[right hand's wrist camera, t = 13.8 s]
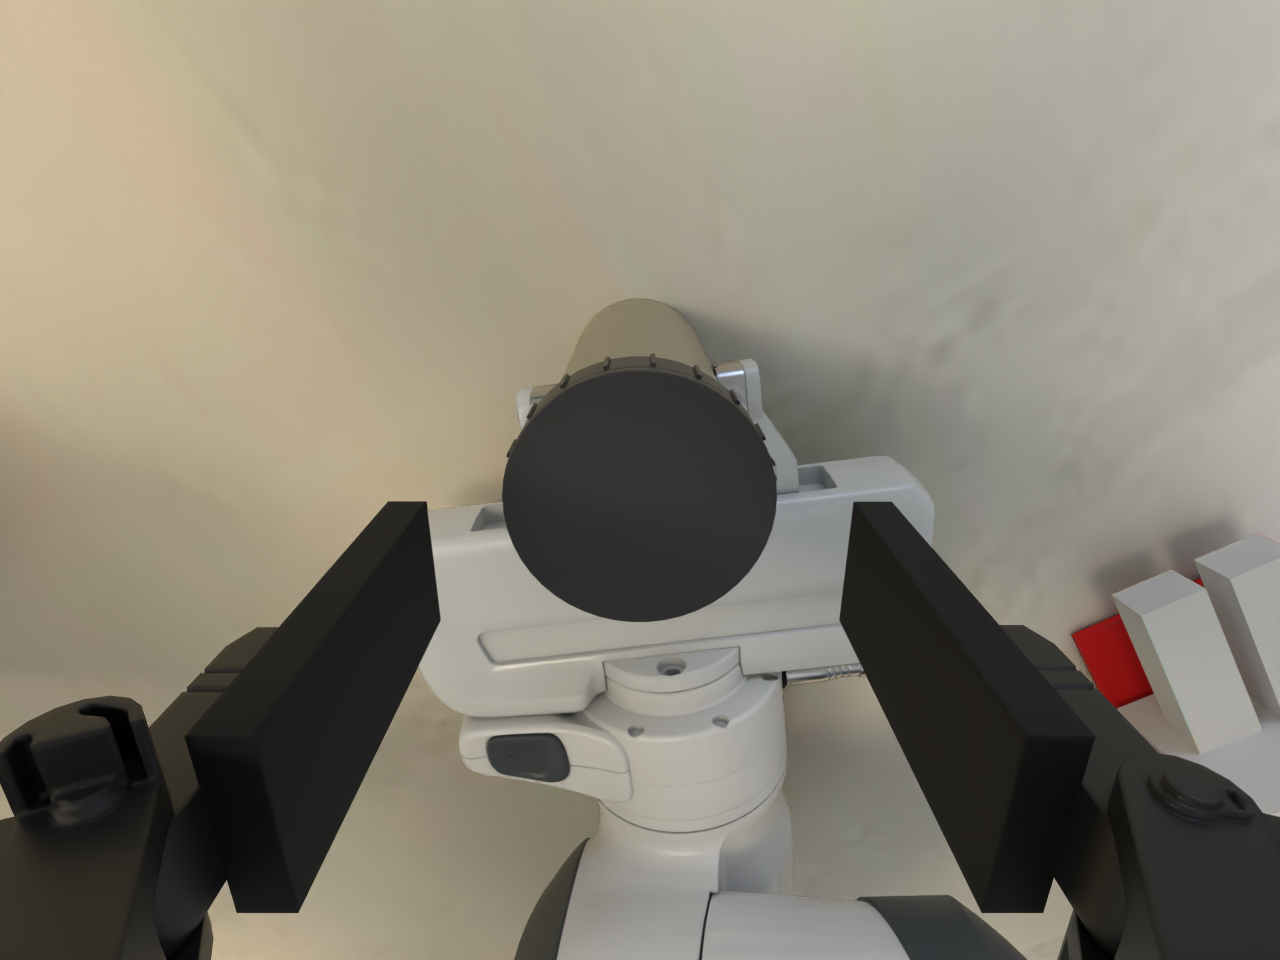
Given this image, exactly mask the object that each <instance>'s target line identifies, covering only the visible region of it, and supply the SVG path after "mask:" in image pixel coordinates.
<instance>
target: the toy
mask: <svg viewBox="0 0 1280 960" xmlns="http://www.w3.org/2000/svg"><path fill="white" fill-rule="evenodd" d="M1194 562H1195V565H1196V567H1197V570H1198V572H1199V575H1200V577H1201V578H1198V579H1196V580H1194V581H1191V580H1190V579H1188V578H1186V577H1184V576H1183V575H1181V574H1179V573H1177V572H1176V571H1174V570H1172V569H1170V570H1168V571H1166V572H1163V573H1161V574H1159V575H1156V576H1154V577H1152V578H1149V579H1147V580H1145V581H1142V582H1140V583H1138V584H1135V585H1133V586H1130V587H1128V588H1126V589H1123V590H1121V591H1119V592H1116V593H1114V594H1112V598H1113V600H1114V602H1115V604H1116V607H1117V609H1118V611H1119V614H1117V615H1115V616H1113V617H1110V618H1108V619H1106V620H1104V621H1101V622H1099V623H1097V624H1095V625H1092V626H1090V627H1088V628H1086V629H1083V630H1081V631H1079V632H1077V633H1074V634H1072V637H1073V639H1074V641H1075V643H1076V645H1077V647H1078V649H1079V651H1080V653H1081V655H1082V657H1083V659H1084V661H1085V663H1086V665H1087V667H1088V669H1089V671H1090V674H1091V676H1092V678H1093V680H1094V682H1095V684H1096V686H1097V688H1098V690H1099V691H1100V692H1101V693H1102V694H1103V695H1104V696H1105V697H1106V698H1107V699H1108V701H1109V702H1110V703H1111V704H1112V705H1113V706H1114V707H1115V708H1116V709H1117V710H1118V711H1119V712H1120V713H1121V714H1122V715H1123V716H1124V717H1125V718H1126V719H1127V720H1128V721H1129V722H1130V723H1131V725H1132V726H1133V727H1134V728H1135V729H1136V730H1137V731H1138V732H1139V733H1140V734H1141V735H1142V736H1143V737H1144V738H1145V739H1146V740H1147V741H1148V742H1149V743H1150V744H1151V745H1152V746H1153V747H1154V749H1155V750H1156V751H1157V752H1158V753H1160V754H1167V755H1174V756H1178V757H1180V758H1183V759H1186V760H1189V761H1192V762H1195V763H1198V764H1200V765H1203V766H1205V767H1207V768H1209V769H1210V770H1212V771H1214V772H1216V773H1218V774H1220V775H1221V776H1223V777H1225V778H1227V779H1229V780H1230V781H1232V782H1233V783H1234V784H1235V785H1237V786H1238V787H1239V788H1240V789H1241V790H1243V791H1244V792H1245V793H1246V794H1248V795H1249V796H1250V797H1251V798H1252V799H1253V800H1254V802H1255V803H1256V804H1257V806H1258V807H1259V808H1260V810H1261V811H1262V812H1263V813H1265V814H1269V815H1274V816H1278V817H1280V543H1279V542H1276V541H1274V540H1272V539H1269V538H1267V537H1265V536H1262V535H1260V534H1257V533H1255V534H1253V535H1251V536H1248V537H1246V538H1243V539H1241V540H1239V541H1236V542H1234V543H1232V544H1229V545H1227V546H1225V547H1222V548H1220V549H1218V550H1215V551H1213V552H1211V553H1208V554H1206V555H1203V556H1201V557H1199V558H1196V559H1194Z"/></svg>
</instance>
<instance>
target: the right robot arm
mask: <svg viewBox="0 0 1280 960" xmlns="http://www.w3.org/2000/svg"><path fill="white" fill-rule="evenodd" d="M440 621H441V617H440V609H439V601H438V592H437V584H436V576H435V567H434V559H433V551H432V543H431V534H430V526H429V518H428V510H427V502H387V503H386V505H385V506H384V507H383V508H382V509H381V510H380V512H379V513H378V514H377V515H376V516H375V517H374V518H373V520H372V521H371V522H370V523H369V524H368V525H367V526H366V528H365V529H364V530H363V531H362V532H361V533H360V535H359V536H358V537H357V538H356V539H355V540H354V541H353V543H352V544H351V545H350V546H349V547H348V548H347V550H346V551H345V552H344V553H343V554H342V555H341V556H340V558H339V559H338V560H337V561H336V562H335V563H334V564H333V566H332V567H331V568H330V569H329V570H328V571H327V573H326V574H325V575H324V576H323V577H322V578H321V579H320V581H319V582H318V583H317V584H316V585H315V586H314V588H313V589H312V590H311V591H310V592H309V593H308V594H307V596H306V597H305V598H304V599H303V600H302V601H301V603H300V604H299V605H298V606H297V607H296V608H295V609H294V611H293V612H292V613H291V614H290V615H289V616H288V617H287V619H286V620H285V621H284V622H283V623H282V624H281V626H280V627H257V628H255V629H254V630H252V631H251V632H249V633H247V634H246V635H244V636H242V637H241V638H239V639H237V640H236V641H234V642H233V643H231V644H229V645H228V646H226V647H225V648H224V649H223V650H222V651H221V652H220V653H219V654H218V655H217V657H216V658H215V659H214V660H213V661H212V662H211V663H210V664H209V665H208V666H207V667H206V668H205V672H204V673H200V674H199V675H198V676H197V678H196V679H195V680H194V681H193V682H192V683H191V684H190V685H189V686H188V687H187V692H182V693H181V694H180V695H179V696H178V698H177V699H176V700H175V701H174V702H173V703H172V704H171V705H170V706H169V707H168V708H167V709H166V710H165V711H164V712H163V713H162V714H161V715H160V716H159V717H158V719H157V720H156V721H155V722H154V723H153V724H152V725H151V726H150V727H149V728H148V725H147V721H146V718H145V715H144V712H143V709H142V706H141V705H140V704H138V703H137V702H135V701H134V700H132V699H131V698H125V697H116V696H105V697H98V698H90V699H84V700H80V701H77V702H74V703H71V704H68V705H64V706H61V707H58V708H55V709H53V710H51V711H49V712H47V713H45V714H42V715H40V716H38V717H36V718H34V719H32V720H30V721H28V722H26V723H25V724H23V725H22V726H21V727H19V728H18V729H16V730H15V731H13V732H12V733H11V734H9V735H8V736H6V737H5V738H3V740H2V741H1V742H0V784H1V786H2V789H3V791H4V793H5V795H6V798H7V800H8V802H9V805H10V807H11V809H12V812H13V814H14V816H15V817H11V818H7V819H3V820H0V960H211V955H212V946H213V933H212V927H211V922H210V919H209V915H208V912H207V911H208V909H209V907H210V906H211V904H212V903H213V901H214V899H215V898H216V896H217V895H218V893H219V891H220V890H221V888H222V886H223V885H224V883H225V882H226V880H227V881H228V885H229V888H230V892H231V895H232V898H233V902H234V905H235V908H236V912H237V913H298V912H299V910H300V908H301V906H302V904H303V902H304V900H305V898H306V896H307V894H308V892H309V890H310V888H311V886H312V884H313V882H314V879H315V877H316V875H317V873H318V871H319V869H320V867H321V865H322V863H323V861H324V859H325V857H326V855H327V853H328V851H329V849H330V847H331V845H332V843H333V840H334V838H335V836H336V834H337V832H338V830H339V828H340V826H341V824H342V822H343V820H344V818H345V816H346V814H347V812H348V810H349V808H350V806H351V804H352V801H353V799H354V797H355V795H356V793H357V791H358V789H359V787H360V785H361V783H362V781H363V779H364V777H365V775H366V773H367V771H368V769H369V767H370V765H371V762H372V760H373V758H374V756H375V754H376V752H377V750H378V748H379V746H380V744H381V742H382V740H383V738H384V736H385V734H386V732H387V730H388V728H389V726H390V724H391V721H392V719H393V717H394V715H395V713H396V711H397V709H398V707H399V705H400V703H401V701H402V699H403V697H404V695H405V693H406V691H407V689H408V687H409V685H410V682H411V680H412V678H413V676H414V674H415V672H416V670H417V668H418V666H419V664H420V662H421V660H422V658H423V656H424V654H425V652H426V650H427V648H428V646H429V643H430V641H431V639H432V637H433V635H434V633H435V631H436V629H437V627H438V625H439V623H440ZM839 621H840V623H841V625H842V627H843V629H844V631H845V633H846V635H847V637H848V639H849V641H850V643H851V646H852V648H853V650H854V652H855V654H856V656H857V658H858V660H859V662H860V664H861V666H862V668H863V670H864V672H865V674H866V676H867V678H868V680H869V682H870V685H871V687H872V689H873V691H874V693H875V695H876V697H877V699H878V701H879V703H880V705H881V707H882V709H883V711H884V713H885V715H886V717H887V719H888V721H889V724H890V726H891V728H892V730H893V732H894V734H895V736H896V738H897V740H898V742H899V744H900V746H901V748H902V750H903V752H904V754H905V756H906V758H907V760H908V763H909V765H910V767H911V769H912V771H913V773H914V775H915V777H916V779H917V781H918V783H919V785H920V787H921V789H922V791H923V793H924V795H925V797H926V799H927V801H928V804H929V806H930V808H931V810H932V812H933V814H934V816H935V818H936V820H937V822H938V824H939V826H940V828H941V830H942V832H943V834H944V836H945V838H946V840H947V843H948V845H949V847H950V849H951V851H952V853H953V855H954V857H955V859H956V861H957V863H958V865H959V867H960V869H961V871H962V873H963V875H964V877H965V879H966V882H967V884H968V886H969V888H970V890H971V892H972V894H973V896H974V898H975V900H976V902H977V904H978V906H979V908H980V910H981V912H982V913H1043V912H1044V908H1045V905H1046V902H1047V898H1048V895H1049V892H1050V888H1051V885H1052V881H1053V878H1055V880H1056V881H1057V883H1058V884H1059V886H1060V888H1061V889H1062V891H1063V892H1064V894H1065V896H1066V897H1067V899H1068V900H1069V902H1070V904H1071V905H1072V907H1073V912H1072V915H1071V919H1070V922H1069V925H1068V928H1067V931H1066V934H1065V937H1064V940H1063V944H1062V947H1061V950H1060V953H1059V956H1058V959H1057V960H1280V817H1278V816H1274V815H1269V814H1265V813H1263V812H1262V811H1261V810H1260V808H1259V807H1258V806H1257V804H1256V803H1255V802H1254V800H1253V799H1252V798H1251V797H1250V796H1249V795H1248V794H1246V793H1245V792H1244V791H1243V790H1241V789H1240V788H1239V787H1238V786H1237V785H1235V784H1234V783H1233V782H1232V781H1230V780H1229V779H1227V778H1225V777H1223V776H1221V775H1220V774H1218V773H1216V772H1214V771H1212V770H1210V769H1209V768H1207V767H1205V766H1203V765H1200V764H1198V763H1195V762H1192V761H1189V760H1186V759H1183V758H1180V757H1178V756H1174V755H1167V754H1160V753H1158V752H1157V751H1156V750H1155V749H1154V747H1153V746H1152V745H1151V744H1150V743H1149V742H1148V741H1147V740H1146V739H1145V738H1144V737H1143V736H1142V735H1141V734H1140V733H1139V732H1138V731H1137V730H1136V729H1135V728H1134V727H1133V726H1132V725H1131V723H1130V722H1129V721H1128V720H1127V719H1126V718H1125V717H1124V716H1123V715H1122V714H1121V713H1120V712H1119V711H1118V710H1117V709H1116V708H1115V707H1114V706H1113V705H1112V704H1111V703H1110V702H1109V701H1108V699H1107V698H1106V697H1105V696H1104V695H1103V694H1102V693H1101V692H1100V691H1099V690H1094V685H1093V684H1092V683H1091V682H1090V681H1089V680H1088V679H1087V678H1086V676H1085V675H1084V674H1083V673H1082V672H1081V671H1076V666H1075V665H1074V664H1073V663H1072V662H1071V661H1070V660H1069V659H1068V658H1067V657H1066V656H1065V655H1064V654H1063V652H1062V651H1061V650H1060V649H1059V648H1058V647H1057V646H1056V645H1055V644H1053V643H1052V642H1050V641H1048V640H1047V639H1045V638H1044V637H1042V636H1040V635H1039V634H1037V633H1035V632H1034V631H1032V630H1030V629H1029V628H1027V627H1025V626H1024V625H999V624H998V623H997V622H996V621H995V620H994V619H993V617H992V616H991V615H990V614H989V613H988V612H987V611H986V609H985V608H984V607H983V606H982V605H981V604H980V603H979V601H978V600H977V599H976V598H975V597H974V596H973V594H972V593H971V592H970V591H969V590H968V589H967V588H966V586H965V585H964V584H963V583H962V582H961V581H960V579H959V578H958V577H957V576H956V575H955V574H954V573H953V571H952V570H951V569H950V568H949V567H948V566H947V564H946V563H945V562H944V561H943V560H942V559H941V558H940V556H939V555H938V554H937V553H936V552H935V551H934V550H933V548H932V547H931V546H930V545H929V544H928V543H927V541H926V540H925V539H924V538H923V537H922V536H921V535H920V533H919V532H918V531H917V530H916V529H915V528H914V526H913V525H912V524H911V523H910V522H909V521H908V520H907V518H906V517H905V516H904V515H903V514H902V513H901V512H900V510H899V509H898V508H897V507H896V506H895V505H894V503H893V502H853V510H852V518H851V526H850V534H849V543H848V551H847V559H846V567H845V576H844V584H843V592H842V601H841V609H840V617H839Z"/></svg>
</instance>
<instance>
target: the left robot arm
mask: <svg viewBox="0 0 1280 960" xmlns="http://www.w3.org/2000/svg"><path fill="white" fill-rule="evenodd" d="M712 370H713V372H714V375H715V377H716V379H717V381H718V382H719V383H720V384H722V385H723V386H724V387H726V388H727V389H728V390H729V391H730V390H731V389H733V390H734V391H735V393H736V395H737V397H738V399H739V401H740V402H741V404H742V405H743V407H744V408H745V410H746V411H747V412H748V414H749V415H750V417H751V419H752V421H753V423H754V424H756V423H758V424H759V426H760V428H761V430H762V432H763V434H764V435H765V437H766V440H764V441H763V442H764V443H765V445H766V447H767V450H768V453H769V455H770V458H771V461H772V464H773V468H774V473H775V475H776V477H777V481H776V488H777V504H776V514H775V519H774V523H773V528H772V531H771V534H770V536H769V539H768V542H767V544H766V546H765V548H764V550H763V552H762V554H761V556H760V557H759V559H758V561H757V562H756V563H755V565H754V566H753V568H752V569H751V570H750V572H749V573H748V574H747V575H746V576H745V577H744V578H743V579H742V580H741V581H740V583H739V584H738V585H736V586H735V587H734V588H733V589H732V590H730V591H729V592H728V593H727V594H726V595H724V596H723V597H721V598H719V599H718V600H716V601H715V602H713V603H712V604H710V605H708V606H706V607H704V608H702V609H700V610H698V611H695V612H692V613H689V614H687V615H684V616H681V617H677V618H672V619H668V620H662V621H654V622H626V621H616V620H611V619H607V618H602V617H598V616H595V615H592V614H590V613H587V612H584V611H582V610H580V609H577V608H575V607H573V606H571V605H569V604H567V603H566V602H564V601H563V600H561V599H560V598H558V597H556V596H555V595H554V594H552V593H551V592H550V591H549V590H547V589H546V588H545V587H544V586H543V585H542V584H541V583H540V582H539V581H538V580H537V579H536V578H535V577H534V576H533V575H532V574H531V573H530V571H529V570H528V569H527V567H526V566H525V565H524V563H523V562H522V560H521V559H520V557H519V555H518V553H517V552H516V550H515V548H514V546H513V544H512V541H511V539H510V536H509V533H508V531H507V527H506V523H505V518H504V514H503V502H502V501H501V502H493V503H485V504H477V505H468V506H460V507H452V508H444V509H435V510H428V518H429V526H430V534H431V543H432V551H433V559H434V567H435V576H436V584H437V592H438V601H439V609H440V617H441V621H440V623H439V625H438V627H437V629H436V631H435V633H434V635H433V637H432V639H431V641H430V643H429V646H428V648H427V650H426V652H425V654H424V656H423V658H422V660H421V662H420V664H419V666H418V668H419V670H420V672H421V674H422V676H423V678H424V680H425V682H426V683H427V685H428V686H429V688H430V689H431V691H432V692H433V693H434V695H435V696H436V697H437V698H438V699H439V700H440V701H441V702H442V703H444V704H445V705H446V706H447V707H449V708H451V709H452V710H454V711H456V712H459V713H461V714H463V718H462V723H461V730H460V736H459V749H460V754H461V757H462V760H463V762H464V763H465V765H466V766H467V767H468V768H469V769H470V770H472V771H474V772H476V773H479V774H482V775H487V776H493V777H500V778H507V779H514V780H521V781H527V782H533V783H538V784H544V785H549V786H553V787H558V788H563V789H566V790H570V791H574V792H578V793H581V794H584V795H588V796H591V797H594V798H597V800H598V802H599V807H600V823H599V829H598V833H597V835H596V836H595V837H594V838H593V839H590V838H587V839H585V840H584V841H583V842H582V843H581V844H580V845H579V846H578V847H577V848H576V849H575V850H574V851H573V853H572V854H571V855H570V856H569V857H568V859H567V860H566V861H565V863H564V864H563V866H562V867H561V868H560V870H559V871H558V872H557V874H556V875H555V877H554V878H553V880H552V881H551V882H550V884H549V885H548V886H547V888H546V889H545V891H544V892H543V894H542V895H541V897H540V899H539V900H538V902H537V904H536V906H535V908H534V910H533V912H532V914H531V915H530V918H529V920H528V922H527V924H526V927H525V929H524V932H523V934H522V937H521V940H520V943H519V946H518V949H517V952H516V956H515V959H514V960H1027V959H1026V958H1025V957H1024V956H1023V955H1022V954H1021V953H1020V952H1019V951H1018V950H1017V949H1016V948H1015V947H1014V946H1013V945H1012V944H1010V943H1009V942H1008V941H1007V940H1006V939H1005V938H1004V937H1003V936H1002V935H1000V934H999V933H998V932H997V931H996V930H994V929H993V928H992V927H991V926H990V925H988V924H987V923H986V922H985V921H984V920H982V919H981V918H980V917H979V916H977V915H976V914H975V913H974V912H972V911H971V910H969V909H968V908H967V907H965V906H964V905H963V904H961V903H960V902H959V901H957V900H956V899H955V898H953V897H952V896H949V895H926V896H882V897H859V898H858V899H857V900H856V901H855V900H842V899H828V898H814V897H801V896H793V873H794V863H793V834H792V822H791V816H790V811H789V808H788V805H787V802H786V799H785V797H784V794H783V792H782V790H781V788H782V785H783V781H784V778H785V774H786V767H787V742H786V727H785V712H784V698H783V689H782V688H785V686H790V685H800V684H809V683H818V682H824V681H828V680H833V679H837V678H841V677H842V678H843V677H847V676H849V677H852V676H859V677H867V676H866V674H865V672H864V670H863V668H862V666H861V664H860V662H859V660H858V658H857V656H856V654H855V652H854V650H853V648H852V646H851V643H850V641H849V639H848V637H847V635H846V633H845V631H844V629H843V627H842V625H841V623H840V621H839V617H840V609H841V601H842V592H843V584H844V576H845V567H846V559H847V551H848V543H849V534H850V526H851V518H852V510H853V502H893V503H894V505H895V506H896V507H897V508H898V509H899V510H900V512H901V513H902V514H903V515H904V516H905V517H906V518H907V520H908V521H909V522H910V523H911V524H912V525H913V526H914V528H915V529H916V530H917V531H918V532H919V533H920V535H921V536H922V537H923V538H924V539H925V540H926V541H927V543H928V544H929V545H930V546H931V547H932V544H933V534H934V524H935V507H934V503H933V500H932V498H931V496H930V494H929V493H928V492H927V490H926V489H925V488H924V486H923V485H922V484H921V483H920V482H919V481H918V480H917V479H916V478H915V477H914V476H913V475H912V474H911V473H910V472H909V471H908V470H906V469H905V468H904V467H903V466H901V465H900V464H899V463H898V462H896V461H895V460H894V459H892V458H890V457H888V456H871V457H862V458H854V459H846V460H838V461H830V462H821V463H813V464H805V465H798V462H797V459H796V458H795V456H794V454H793V453H792V451H791V450H790V448H789V446H788V445H787V443H786V441H785V440H784V439H783V437H782V436H781V434H780V433H779V432H778V430H777V429H776V428H775V426H774V425H773V423H772V422H771V421H770V419H769V418H768V416H767V415H766V414H765V412H764V411H763V410H762V399H761V385H760V374H759V369H758V365H757V363H756V362H755V361H754V359H753V358H751V359H744V360H736V361H729V362H722V363H715V364H712ZM556 385H557V384H554V385H545V386H536V387H534V386H533V387H527V388H521V389H520V391H519V392H518V394H517V396H516V406H517V413H518V418H519V423H520V428H521V431H522V429H523V427H524V425H525V423H526V421H527V418H526V416H527V414H528V413H529V411H530V409H531V407H532V405H533V404H534V402H535V403H536V404H538V403H539V402H540V400H541V399H542V398H543V397H544V396H545V395H546V394H547V393H548V392H549V391H550V390H551V389H552V388H554V387H555V386H556Z"/></svg>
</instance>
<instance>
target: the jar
mask: <svg viewBox="0 0 1280 960" xmlns="http://www.w3.org/2000/svg"><path fill="white" fill-rule="evenodd" d="M651 353H652V354H655V357H658V358H665V359H669V360H673V361H677V362H681V363H684V364H686V365H689V366H691V367H694V365H697V366H699V368H700V371H702V372H704V373H705V374H707V375H709V376H711V377H712V378H714V379H715V380H717V379H716V377H715V375H714V372H713V370H712V368H711V366H710V363H709V361H708V359H707V357H706V355H705V352H704V350H703V348H702V346H701V343H700V341H699V339H698V337H697V335H696V333H695V331H694V329H693V327H692V326H691V325H690V323H689V322H688V321H687V320H686V319H685V318H684V317H683V316H682V315H681V314H680V313H679V312H677V311H676V310H675V309H673V308H671V307H670V306H668V305H666V304H663V303H661V302H658V301H654V300H649V299H630V300H624V301H621V302H617V303H615V304H613V305H610V306H608V307H607V308H605V309H603V310H602V311H601V312H599V313H598V314H597V315H596V316H595V317H594V318H593V319H592V320H591V321H590V322H589V324H588V325H587V326H586V328H585V329H584V331H583V333H582V335H581V337H580V339H579V342H578V344H577V346H576V348H575V351H574V353H573V355H572V358H571V360H570V362H569V364H568V367H567V369H566V371H565V374H567V373H568V375H569V376H570V375H572V374H574V373H575V372H577V371H579V370H581V369H583V368H586V367H588V366H590V365H593V364H595V363H599V362H602V361H604V360H605V357H608V356H609V357H610V359H614V358H622V357H629V356H650V355H651ZM565 374H564V375H565ZM562 379H563V378H562ZM561 381H562V380H561Z"/></svg>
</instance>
